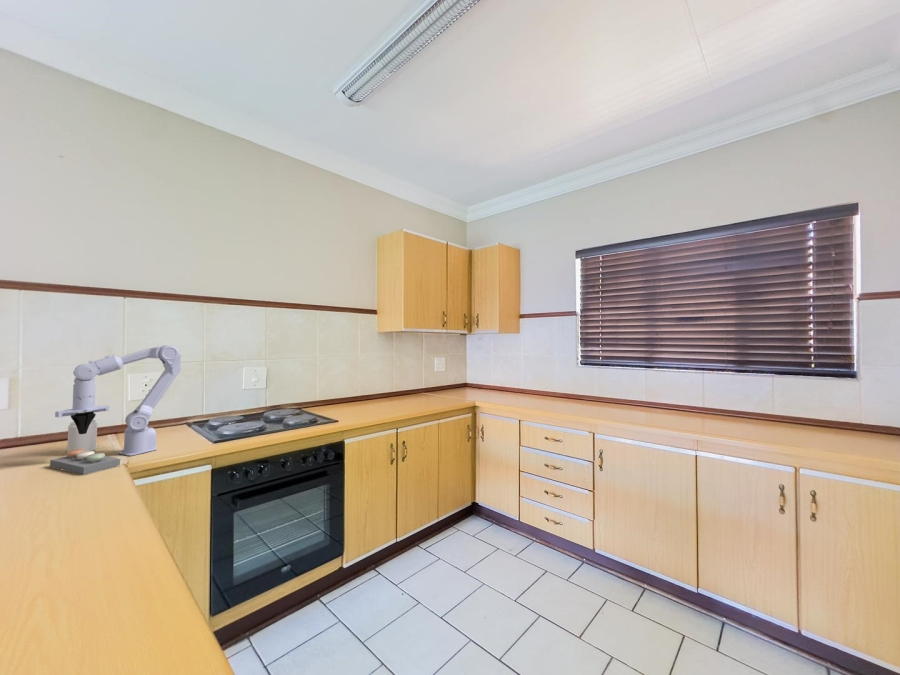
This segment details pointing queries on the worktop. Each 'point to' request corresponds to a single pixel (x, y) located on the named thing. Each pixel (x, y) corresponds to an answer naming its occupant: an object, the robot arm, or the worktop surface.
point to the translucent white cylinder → (82, 437)
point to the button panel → (83, 465)
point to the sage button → (95, 458)
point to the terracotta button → (74, 453)
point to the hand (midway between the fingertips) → (82, 433)
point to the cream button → (84, 455)
